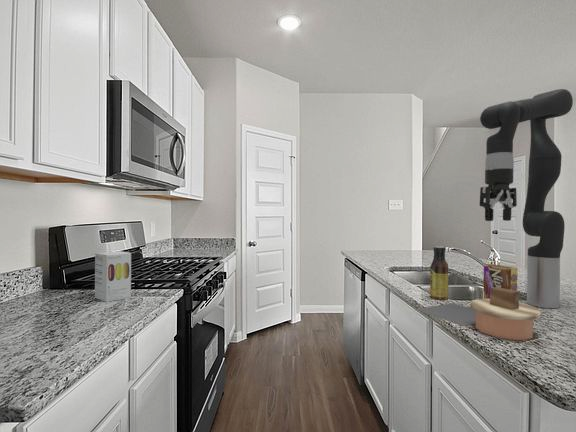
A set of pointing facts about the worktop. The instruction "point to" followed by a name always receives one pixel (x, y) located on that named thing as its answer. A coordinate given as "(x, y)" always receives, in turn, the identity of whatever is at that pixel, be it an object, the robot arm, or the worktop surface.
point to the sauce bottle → (439, 275)
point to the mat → (452, 313)
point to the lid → (505, 305)
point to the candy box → (499, 278)
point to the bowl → (504, 327)
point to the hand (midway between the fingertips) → (498, 220)
